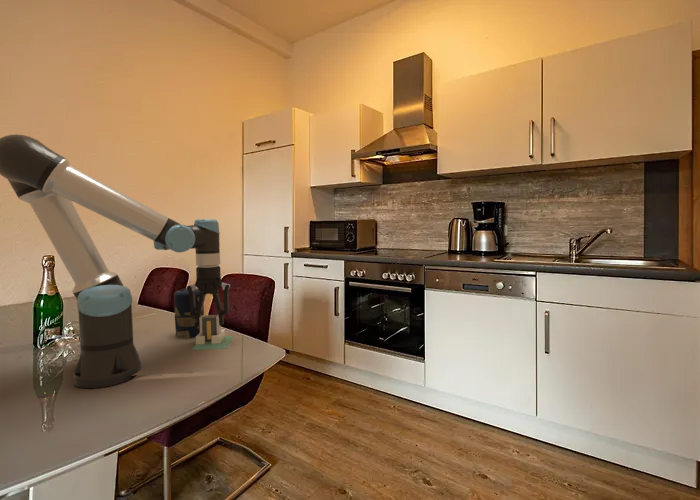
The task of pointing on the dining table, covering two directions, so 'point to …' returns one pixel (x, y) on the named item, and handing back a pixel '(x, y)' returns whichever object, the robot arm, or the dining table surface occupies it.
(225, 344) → the board
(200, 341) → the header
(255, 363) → the dining table surface
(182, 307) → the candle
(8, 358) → the dining table surface
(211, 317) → the plug
